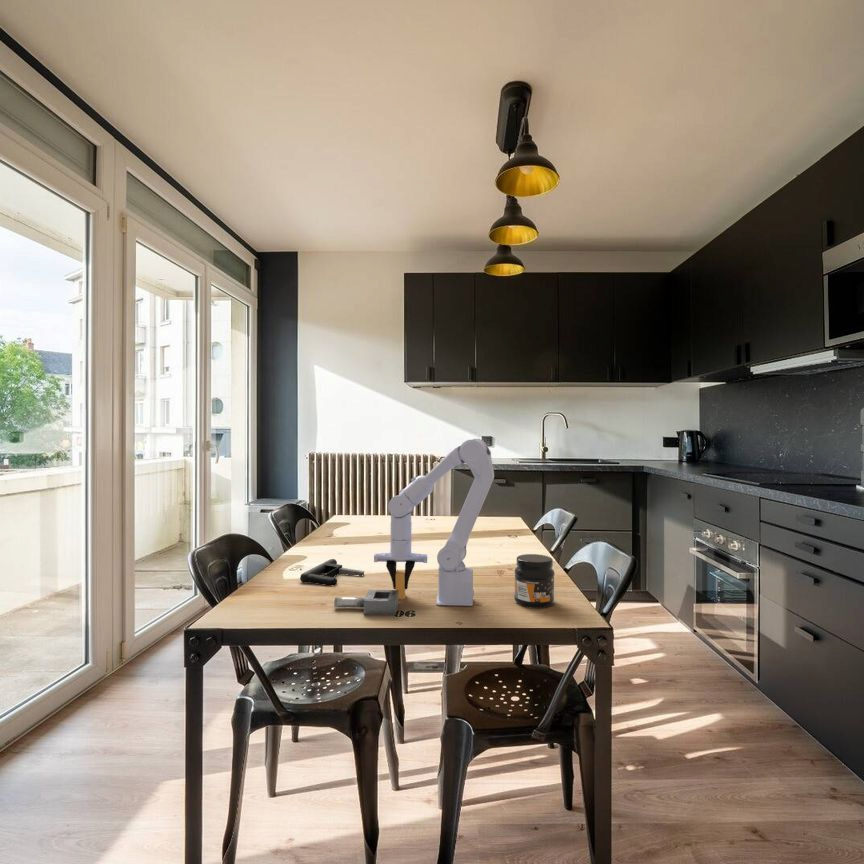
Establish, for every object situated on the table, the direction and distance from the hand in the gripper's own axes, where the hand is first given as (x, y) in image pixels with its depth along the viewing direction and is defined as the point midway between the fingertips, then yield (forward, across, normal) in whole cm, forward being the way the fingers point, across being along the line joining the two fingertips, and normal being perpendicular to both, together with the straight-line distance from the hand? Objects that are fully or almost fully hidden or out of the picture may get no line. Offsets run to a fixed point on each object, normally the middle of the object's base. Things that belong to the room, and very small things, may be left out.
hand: (400, 588), depth 152 cm
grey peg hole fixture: (+2, +8, +10) cm, 13 cm away
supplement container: (+3, -36, +3) cm, 36 cm away
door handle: (+3, +22, -19) cm, 29 cm away
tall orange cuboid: (+2, 0, 0) cm, 2 cm away
